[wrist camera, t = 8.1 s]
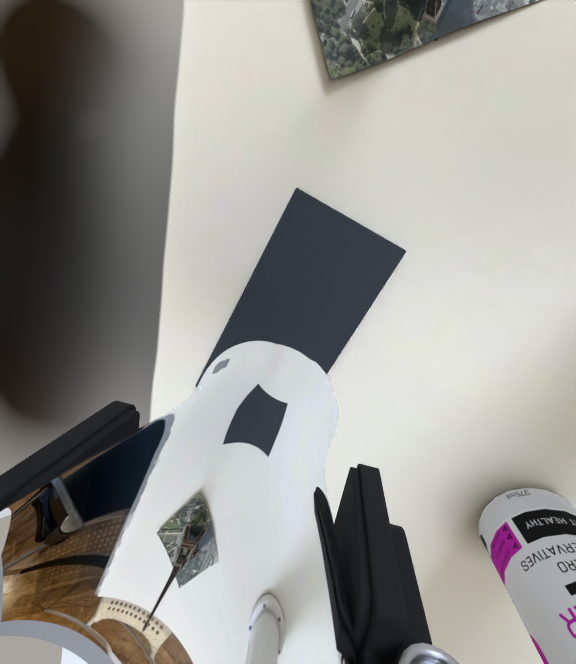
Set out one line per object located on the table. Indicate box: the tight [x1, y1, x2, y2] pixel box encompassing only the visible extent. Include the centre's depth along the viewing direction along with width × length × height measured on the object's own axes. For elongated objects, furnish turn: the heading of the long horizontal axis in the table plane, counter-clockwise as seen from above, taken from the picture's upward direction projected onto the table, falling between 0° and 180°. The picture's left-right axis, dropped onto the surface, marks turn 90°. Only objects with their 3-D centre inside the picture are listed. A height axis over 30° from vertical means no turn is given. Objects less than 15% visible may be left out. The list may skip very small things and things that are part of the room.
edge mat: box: [196, 188, 406, 387], centre depth 28 cm, size 20×10×1 cm, turn 151°
